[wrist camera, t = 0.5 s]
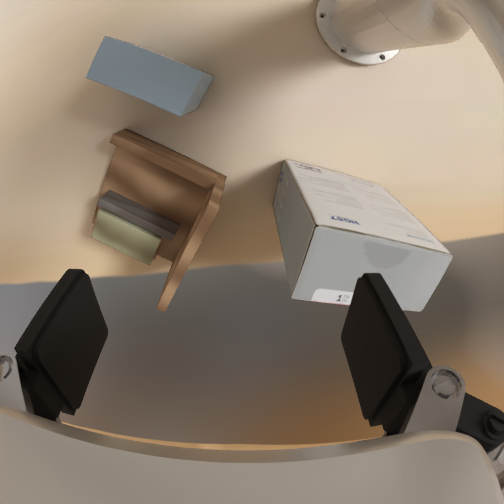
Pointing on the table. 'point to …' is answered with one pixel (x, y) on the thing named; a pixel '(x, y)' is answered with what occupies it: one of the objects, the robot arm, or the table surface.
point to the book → (149, 76)
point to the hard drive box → (352, 238)
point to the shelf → (156, 205)
